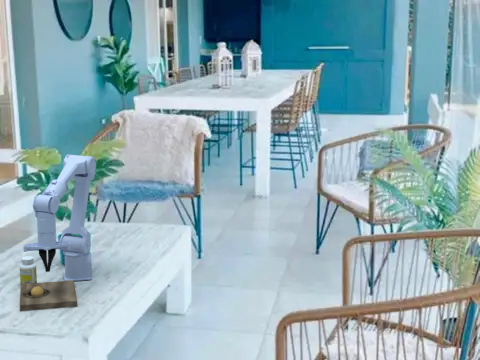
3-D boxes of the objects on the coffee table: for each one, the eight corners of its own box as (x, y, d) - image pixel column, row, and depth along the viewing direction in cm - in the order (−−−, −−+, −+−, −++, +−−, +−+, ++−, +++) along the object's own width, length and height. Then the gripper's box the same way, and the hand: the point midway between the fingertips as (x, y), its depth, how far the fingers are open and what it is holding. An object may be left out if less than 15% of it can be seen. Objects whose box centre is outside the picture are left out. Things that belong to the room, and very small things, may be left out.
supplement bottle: (31, 280, 230) (30, 254, 228) (39, 284, 227) (39, 257, 225) (17, 284, 226) (16, 257, 224) (26, 288, 223) (25, 261, 221)
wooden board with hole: (73, 285, 227) (73, 280, 227) (77, 306, 211) (77, 300, 210) (20, 289, 222) (20, 284, 222) (19, 311, 206) (19, 305, 205)
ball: (27, 292, 216) (36, 301, 217) (29, 292, 212) (38, 301, 213) (36, 283, 218) (44, 292, 218) (38, 283, 214) (47, 292, 215)
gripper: (22, 236, 206) (24, 276, 209) (70, 233, 210) (71, 273, 213) (23, 229, 212) (24, 268, 216) (69, 227, 217) (70, 266, 220)
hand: (47, 270), depth 215 cm, fingers closed
